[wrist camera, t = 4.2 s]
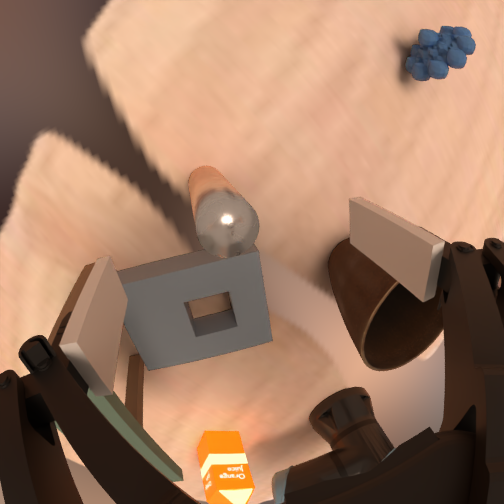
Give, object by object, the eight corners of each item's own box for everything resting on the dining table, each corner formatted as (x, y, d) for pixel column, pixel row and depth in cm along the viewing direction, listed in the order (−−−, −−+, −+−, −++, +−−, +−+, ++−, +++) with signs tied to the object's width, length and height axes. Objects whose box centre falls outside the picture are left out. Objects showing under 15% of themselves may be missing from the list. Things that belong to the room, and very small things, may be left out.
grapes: (404, 14, 27) (461, 1, 17) (431, 44, 30) (488, 39, 19) (379, 60, 30) (442, 50, 20) (409, 91, 33) (472, 92, 22)
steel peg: (219, 162, 32) (254, 191, 18) (225, 195, 34) (263, 249, 19) (185, 170, 31) (190, 205, 17) (192, 203, 33) (204, 264, 19)
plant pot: (285, 291, 41) (336, 370, 27) (332, 195, 37) (415, 240, 23) (358, 309, 47) (413, 371, 32) (401, 231, 42) (474, 276, 28)
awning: (129, 252, 33) (94, 383, 15) (172, 357, 41) (183, 480, 23) (81, 265, 32) (21, 390, 14) (130, 365, 40) (126, 484, 22)
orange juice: (196, 448, 54) (211, 523, 37) (204, 430, 52) (222, 514, 34) (228, 449, 57) (248, 520, 39) (239, 431, 54) (263, 509, 36)
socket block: (250, 238, 37) (258, 250, 33) (264, 323, 43) (272, 340, 39) (113, 272, 34) (107, 288, 30) (149, 351, 40) (148, 370, 37)
